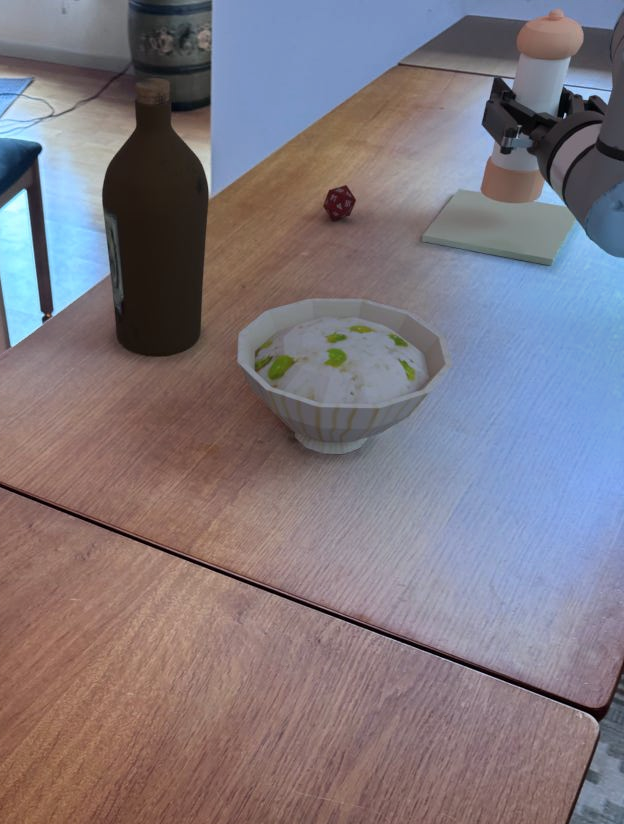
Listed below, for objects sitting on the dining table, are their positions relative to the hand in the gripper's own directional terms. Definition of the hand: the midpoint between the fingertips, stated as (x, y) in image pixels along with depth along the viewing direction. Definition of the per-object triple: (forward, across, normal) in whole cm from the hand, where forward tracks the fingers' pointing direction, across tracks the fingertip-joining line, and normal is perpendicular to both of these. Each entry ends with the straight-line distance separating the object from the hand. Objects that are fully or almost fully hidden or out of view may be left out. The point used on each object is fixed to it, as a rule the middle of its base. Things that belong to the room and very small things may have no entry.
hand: (520, 89), depth 110 cm
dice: (0, -20, -15) cm, 25 cm away
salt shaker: (-5, 0, -10) cm, 11 cm away
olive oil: (-29, -45, -15) cm, 55 cm away
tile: (-5, 0, -14) cm, 15 cm away
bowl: (-49, -29, -15) cm, 58 cm away
